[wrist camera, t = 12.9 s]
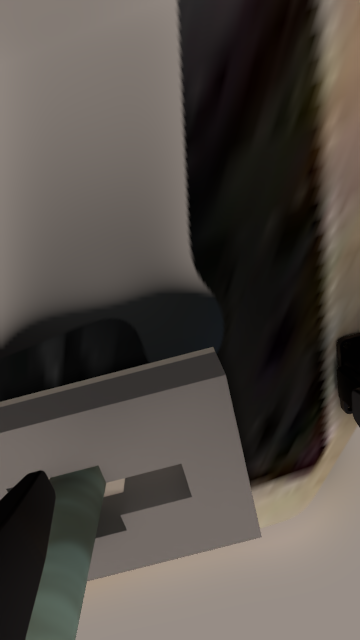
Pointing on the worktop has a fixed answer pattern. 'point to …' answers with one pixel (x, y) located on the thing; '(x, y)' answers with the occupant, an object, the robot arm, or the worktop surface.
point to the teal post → (68, 555)
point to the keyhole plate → (141, 457)
